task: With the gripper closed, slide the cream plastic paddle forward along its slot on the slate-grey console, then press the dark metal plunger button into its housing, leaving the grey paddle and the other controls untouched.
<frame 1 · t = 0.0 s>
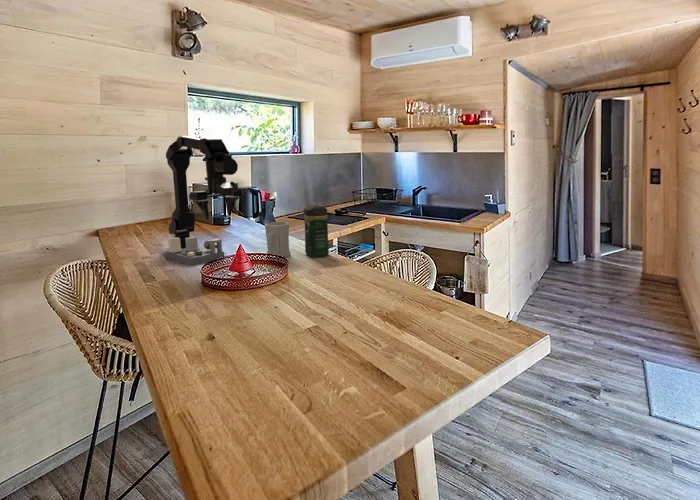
hand: (218, 217, 169), 15 cm above the breakfast bar, fingers open, 9 cm apart
coffee jar: (317, 255, 173), on the breakfast bar
cup: (278, 256, 172), on the breakfast bar
cream paddle: (174, 244, 171), point 5 cm above the breakfast bar, slide at 0.0 cm
grey paddle: (191, 244, 172), point 5 cm above the breakfast bar, slide at 3.0 cm
console: (195, 257, 173), on the breakfast bar
plunger: (211, 245, 171), point 5 cm above the breakfast bar, slide at 0.0 cm
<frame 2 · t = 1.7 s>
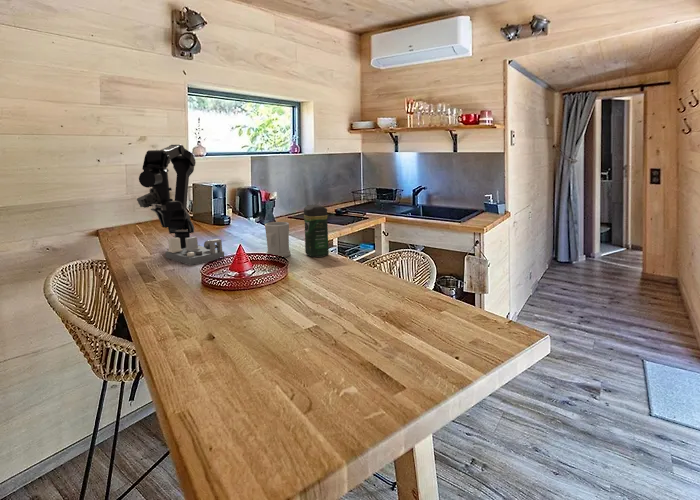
hand: (165, 227, 174), 11 cm above the breakfast bar, fingers closed
nothing on the breakfast bar moved.
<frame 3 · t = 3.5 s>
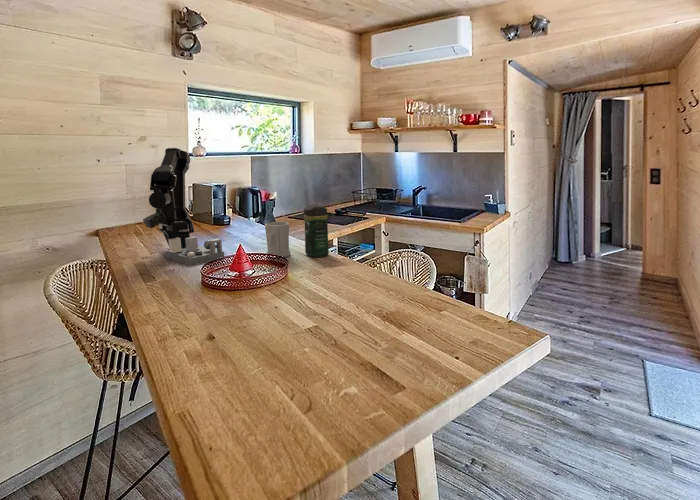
hand: (171, 247, 173), 4 cm above the breakfast bar, fingers closed
cream paddle: (175, 245, 171), point 5 cm above the breakfast bar, slide at 0.4 cm, touching gripper
everything else where it was.
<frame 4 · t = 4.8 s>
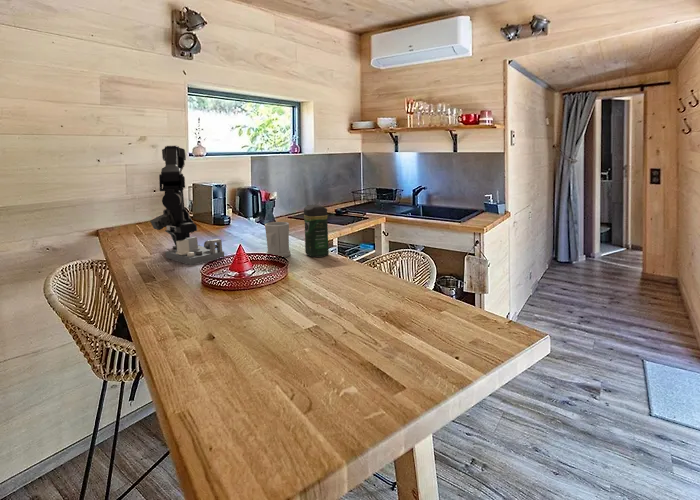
hand: (178, 249, 170), 4 cm above the breakfast bar, fingers closed
cream paddle: (183, 246, 167), point 5 cm above the breakfast bar, slide at 6.1 cm, touching gripper
everything else where it was.
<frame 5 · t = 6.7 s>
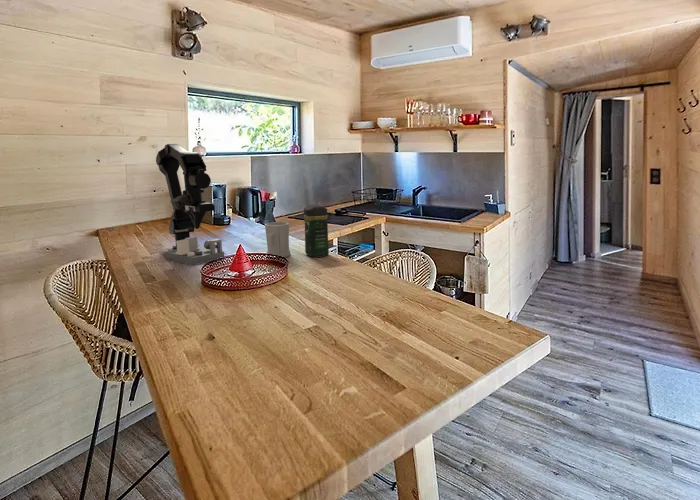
hand: (196, 228, 176), 10 cm above the breakfast bar, fingers closed
cream paddle: (183, 246, 167), point 5 cm above the breakfast bar, slide at 6.1 cm
everything else where it was.
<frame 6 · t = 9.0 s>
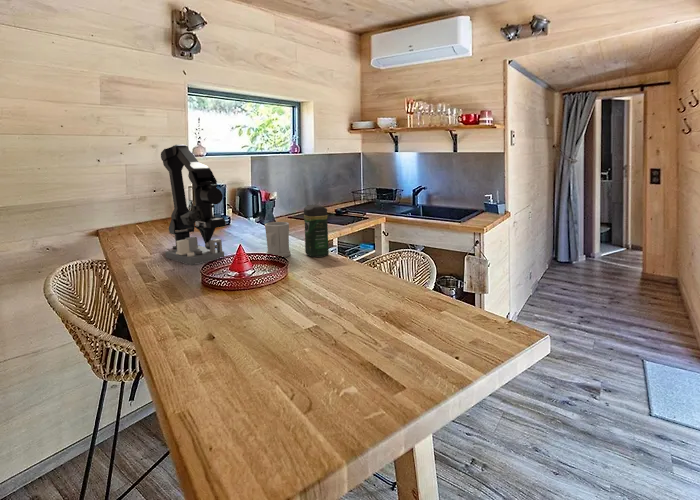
hand: (207, 244, 173), 5 cm above the breakfast bar, fingers closed
plunger: (212, 245, 171), point 5 cm above the breakfast bar, slide at 0.8 cm, touching gripper
everything else where it was.
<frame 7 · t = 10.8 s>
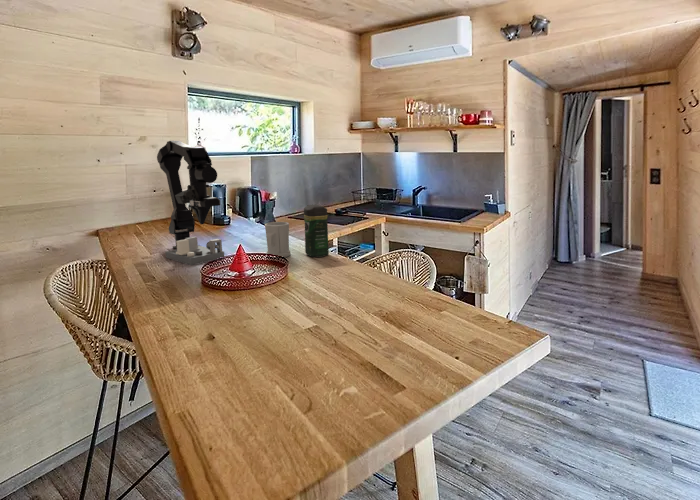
hand: (201, 224, 174), 12 cm above the breakfast bar, fingers closed
plunger: (214, 246, 170), point 5 cm above the breakfast bar, slide at 1.7 cm
everything else where it was.
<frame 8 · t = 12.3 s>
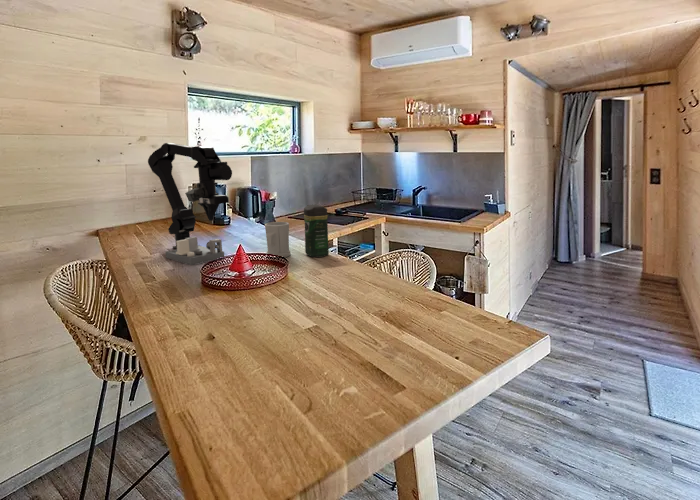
hand: (210, 220, 181), 12 cm above the breakfast bar, fingers closed
nothing on the breakfast bar moved.
at the end: cream paddle slide at 6.1 cm; plunger slide at 1.7 cm; grey paddle slide at 3.0 cm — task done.
